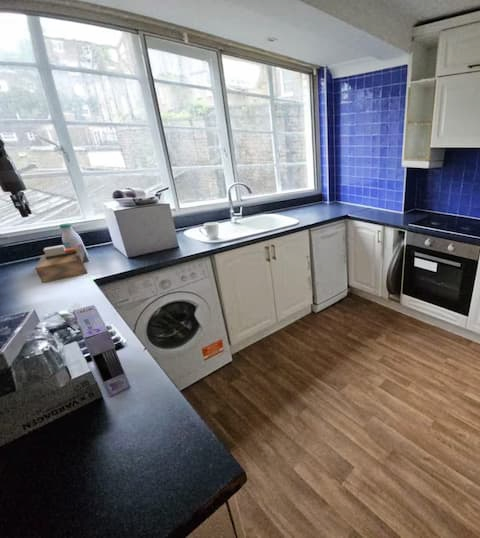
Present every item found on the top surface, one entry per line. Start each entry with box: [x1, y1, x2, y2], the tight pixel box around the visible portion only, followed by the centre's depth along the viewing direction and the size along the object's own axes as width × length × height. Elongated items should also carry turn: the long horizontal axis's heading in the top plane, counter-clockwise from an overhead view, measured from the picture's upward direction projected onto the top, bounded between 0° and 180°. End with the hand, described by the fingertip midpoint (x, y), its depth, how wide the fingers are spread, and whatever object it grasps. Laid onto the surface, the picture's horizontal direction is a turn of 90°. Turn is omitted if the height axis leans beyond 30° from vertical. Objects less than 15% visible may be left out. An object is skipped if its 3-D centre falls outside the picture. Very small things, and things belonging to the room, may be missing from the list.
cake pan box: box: [72, 304, 131, 398], centre depth 74 cm, size 19×5×18 cm, turn 48°
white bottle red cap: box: [43, 244, 77, 259], centre depth 147 cm, size 11×5×5 cm, turn 129°
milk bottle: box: [59, 222, 90, 258], centre depth 161 cm, size 8×8×20 cm
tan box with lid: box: [34, 244, 90, 284], centre depth 147 cm, size 16×24×10 cm, turn 39°
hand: (27, 215), depth 140 cm, fingers open, 8 cm apart
